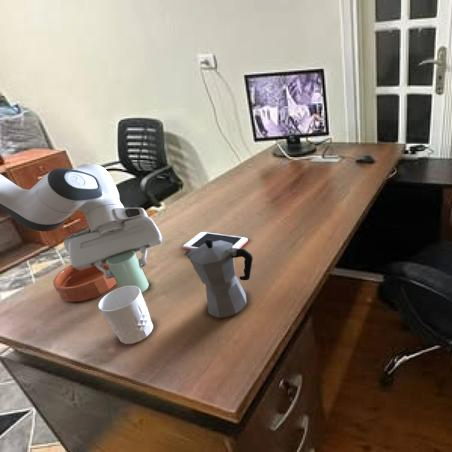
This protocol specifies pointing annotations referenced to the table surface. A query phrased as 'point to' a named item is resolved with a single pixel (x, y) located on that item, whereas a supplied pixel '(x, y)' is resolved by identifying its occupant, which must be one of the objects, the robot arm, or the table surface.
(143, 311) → the white cup
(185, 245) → the cell phone
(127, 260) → the cup
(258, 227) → the table surface
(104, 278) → the bowl
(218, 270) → the coffeepot
